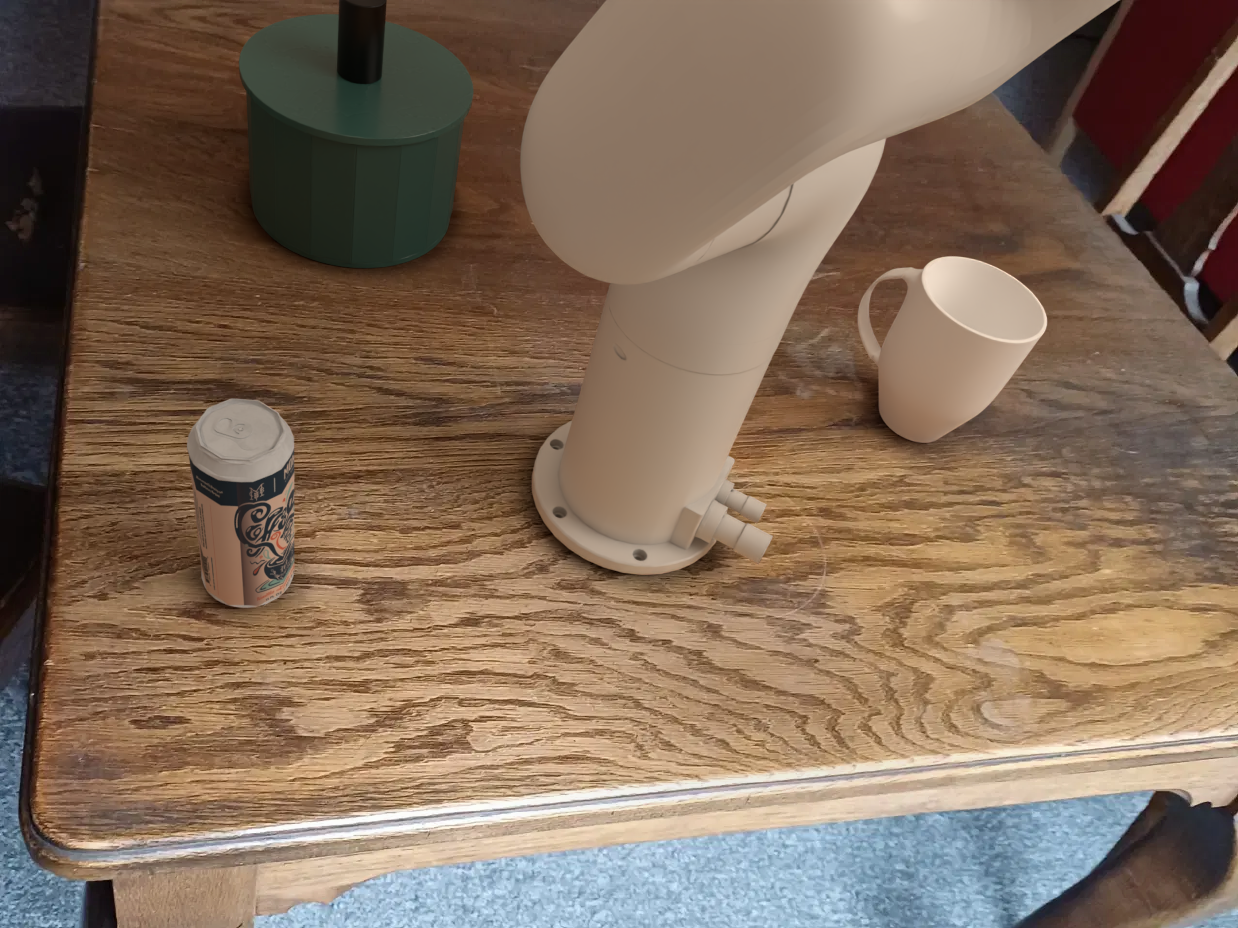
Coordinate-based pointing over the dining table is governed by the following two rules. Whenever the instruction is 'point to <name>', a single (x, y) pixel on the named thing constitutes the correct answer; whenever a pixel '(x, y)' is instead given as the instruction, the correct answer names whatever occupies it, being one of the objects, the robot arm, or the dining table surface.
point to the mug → (950, 344)
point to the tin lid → (356, 77)
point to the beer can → (243, 501)
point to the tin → (350, 193)
